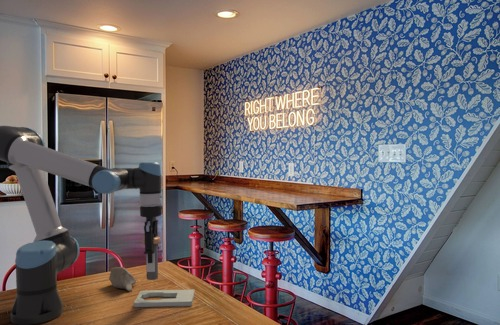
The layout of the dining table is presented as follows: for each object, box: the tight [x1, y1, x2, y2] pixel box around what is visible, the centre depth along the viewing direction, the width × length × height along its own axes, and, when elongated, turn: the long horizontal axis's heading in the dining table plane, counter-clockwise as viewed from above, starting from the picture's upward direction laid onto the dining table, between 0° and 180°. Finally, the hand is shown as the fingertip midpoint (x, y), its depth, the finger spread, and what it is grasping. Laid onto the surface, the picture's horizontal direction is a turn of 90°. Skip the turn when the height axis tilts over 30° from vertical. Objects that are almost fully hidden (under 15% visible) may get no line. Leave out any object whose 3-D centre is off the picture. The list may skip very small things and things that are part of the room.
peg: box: [141, 236, 162, 281], centre depth 142 cm, size 6×6×14 cm
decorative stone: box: [108, 266, 137, 292], centre depth 157 cm, size 8×14×8 cm, turn 43°
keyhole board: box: [133, 289, 196, 308], centre depth 143 cm, size 20×12×2 cm, turn 93°
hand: (152, 269), depth 142 cm, fingers closed on peg, 4 cm apart
